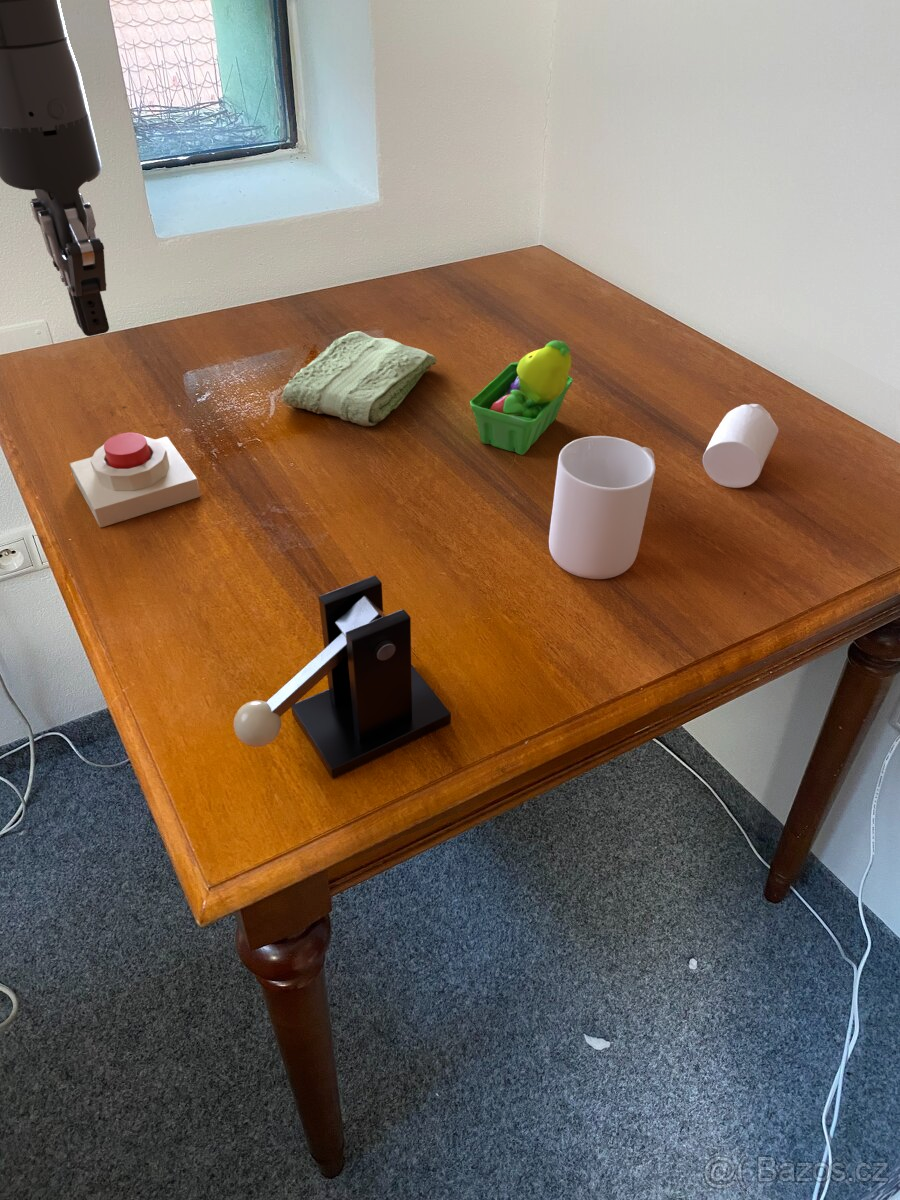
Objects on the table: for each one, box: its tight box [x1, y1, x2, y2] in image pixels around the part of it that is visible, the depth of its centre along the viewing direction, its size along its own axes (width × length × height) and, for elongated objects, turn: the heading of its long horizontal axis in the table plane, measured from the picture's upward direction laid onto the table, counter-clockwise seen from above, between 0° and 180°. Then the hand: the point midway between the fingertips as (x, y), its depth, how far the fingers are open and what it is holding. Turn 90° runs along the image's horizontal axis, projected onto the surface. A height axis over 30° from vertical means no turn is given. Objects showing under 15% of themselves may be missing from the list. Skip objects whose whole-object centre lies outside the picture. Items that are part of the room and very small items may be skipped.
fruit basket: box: [469, 339, 574, 456], centre depth 94 cm, size 11×9×11 cm
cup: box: [548, 435, 657, 580], centre depth 80 cm, size 8×12×10 cm
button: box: [103, 432, 150, 469], centre depth 85 cm, size 4×4×2 cm
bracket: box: [290, 574, 452, 780], centre depth 63 cm, size 10×7×12 cm
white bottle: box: [702, 403, 779, 489], centre depth 92 cm, size 6×12×6 cm, turn 153°
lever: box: [233, 596, 386, 748], centre depth 60 cm, size 13×3×3 cm
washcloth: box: [280, 330, 437, 427], centre depth 103 cm, size 13×18×3 cm
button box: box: [69, 435, 202, 529], centre depth 87 cm, size 10×9×4 cm
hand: (94, 329), depth 77 cm, fingers closed
